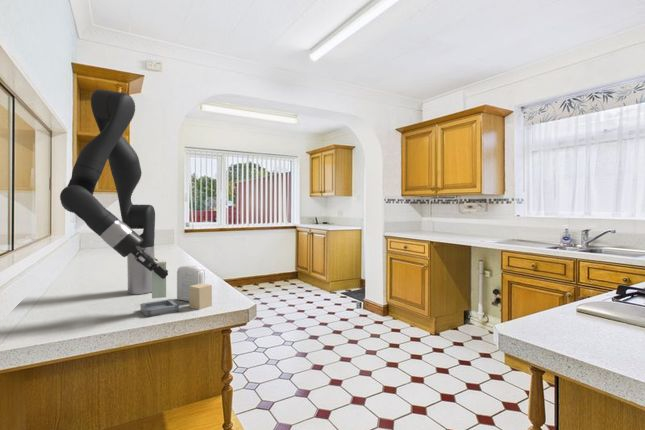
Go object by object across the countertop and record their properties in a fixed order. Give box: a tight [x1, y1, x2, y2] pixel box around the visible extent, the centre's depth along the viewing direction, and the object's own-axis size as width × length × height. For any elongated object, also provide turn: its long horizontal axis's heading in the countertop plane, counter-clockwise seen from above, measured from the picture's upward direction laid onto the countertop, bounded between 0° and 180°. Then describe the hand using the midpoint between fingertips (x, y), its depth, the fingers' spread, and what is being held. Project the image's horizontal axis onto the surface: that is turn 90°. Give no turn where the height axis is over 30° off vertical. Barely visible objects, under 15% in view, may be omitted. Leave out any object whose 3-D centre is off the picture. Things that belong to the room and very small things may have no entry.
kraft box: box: [188, 283, 213, 311], centre depth 118 cm, size 5×5×7 cm
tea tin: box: [151, 259, 167, 299], centre depth 113 cm, size 4×4×11 cm
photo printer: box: [176, 264, 206, 302], centre depth 125 cm, size 10×4×12 cm, turn 69°
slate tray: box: [140, 298, 180, 318], centre depth 113 cm, size 9×9×2 cm
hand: (165, 275), depth 113 cm, fingers closed on tea tin, 4 cm apart
